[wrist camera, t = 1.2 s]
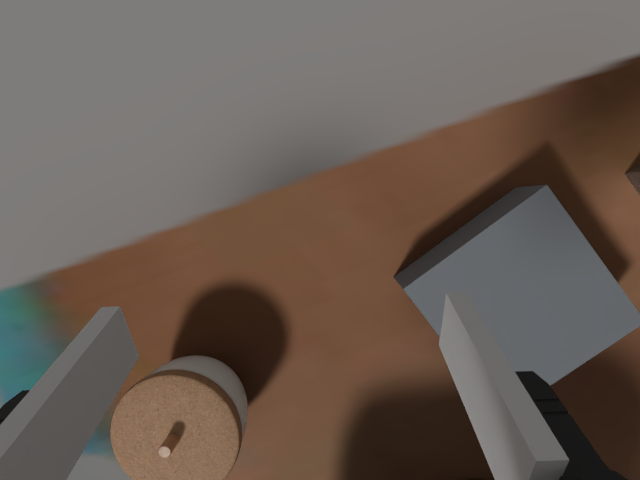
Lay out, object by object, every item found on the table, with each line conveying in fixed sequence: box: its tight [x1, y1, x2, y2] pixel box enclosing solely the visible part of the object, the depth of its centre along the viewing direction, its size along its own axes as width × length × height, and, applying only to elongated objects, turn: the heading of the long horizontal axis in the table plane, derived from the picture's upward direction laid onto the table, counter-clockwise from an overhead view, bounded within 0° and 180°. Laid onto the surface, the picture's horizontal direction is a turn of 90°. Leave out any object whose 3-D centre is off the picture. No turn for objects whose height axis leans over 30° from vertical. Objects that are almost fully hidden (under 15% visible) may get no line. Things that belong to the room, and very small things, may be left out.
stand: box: [394, 185, 640, 386], centre depth 32 cm, size 14×14×5 cm
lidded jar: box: [110, 355, 248, 480], centre depth 32 cm, size 11×11×9 cm
